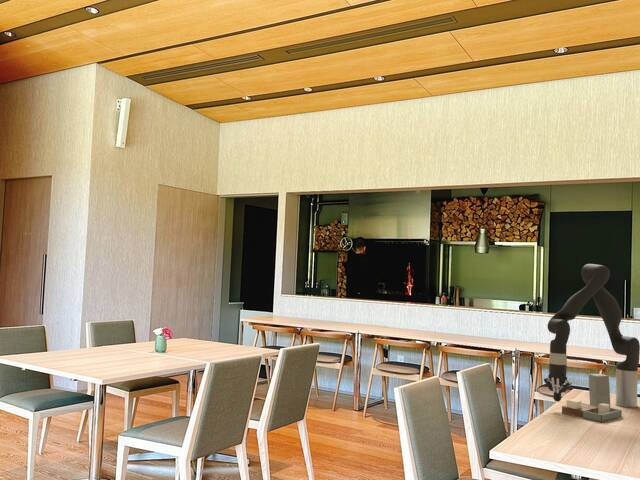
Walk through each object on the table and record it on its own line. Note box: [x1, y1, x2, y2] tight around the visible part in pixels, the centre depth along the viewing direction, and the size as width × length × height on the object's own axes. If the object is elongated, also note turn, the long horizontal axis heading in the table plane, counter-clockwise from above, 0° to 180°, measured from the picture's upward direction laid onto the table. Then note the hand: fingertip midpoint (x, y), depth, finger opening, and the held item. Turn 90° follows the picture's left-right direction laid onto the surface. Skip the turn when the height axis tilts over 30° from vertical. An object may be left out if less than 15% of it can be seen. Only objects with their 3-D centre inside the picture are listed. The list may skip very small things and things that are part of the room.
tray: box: [582, 407, 623, 423], centre depth 261 cm, size 18×8×3 cm, turn 129°
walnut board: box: [561, 402, 598, 419], centre depth 269 cm, size 16×10×3 cm, turn 129°
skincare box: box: [588, 373, 612, 408], centre depth 281 cm, size 8×7×16 cm
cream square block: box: [566, 398, 582, 409], centre depth 266 cm, size 4×4×3 cm
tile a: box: [598, 403, 611, 414], centre depth 265 cm, size 4×4×3 cm
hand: (557, 401), depth 272 cm, fingers closed
